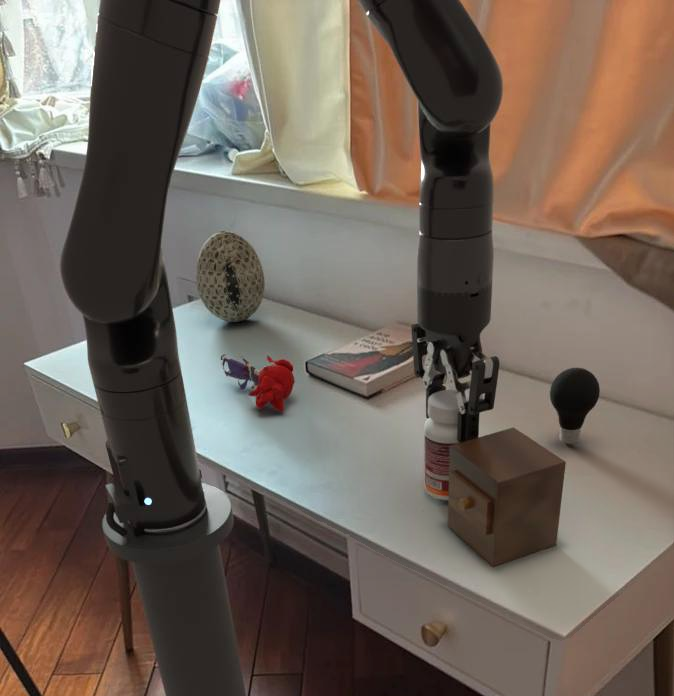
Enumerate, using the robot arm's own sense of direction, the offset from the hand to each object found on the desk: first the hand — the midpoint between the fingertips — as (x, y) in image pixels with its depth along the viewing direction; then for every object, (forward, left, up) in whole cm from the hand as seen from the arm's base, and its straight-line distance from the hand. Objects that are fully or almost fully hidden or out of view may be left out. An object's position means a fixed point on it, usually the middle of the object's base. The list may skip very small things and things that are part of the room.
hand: (451, 429), depth 95 cm
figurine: (-10, +38, -8) cm, 40 cm away
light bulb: (+19, +3, -8) cm, 21 cm away
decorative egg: (-1, +72, -8) cm, 72 cm away
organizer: (0, -10, -8) cm, 13 cm away
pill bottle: (0, 0, -8) cm, 8 cm away
